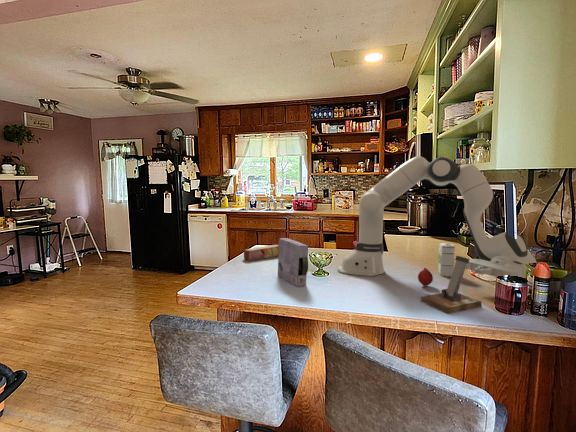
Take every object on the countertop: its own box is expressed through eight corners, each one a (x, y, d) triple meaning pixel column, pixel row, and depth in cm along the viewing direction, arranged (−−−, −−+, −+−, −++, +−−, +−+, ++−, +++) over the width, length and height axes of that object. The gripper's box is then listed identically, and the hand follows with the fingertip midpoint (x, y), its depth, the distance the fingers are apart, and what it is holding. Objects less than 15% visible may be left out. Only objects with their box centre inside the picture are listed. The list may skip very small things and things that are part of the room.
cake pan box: (308, 286, 141) (309, 244, 139) (298, 288, 138) (299, 245, 136) (286, 274, 157) (286, 237, 155) (277, 276, 155) (277, 238, 153)
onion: (420, 283, 145) (421, 265, 145) (434, 285, 142) (435, 267, 141) (415, 286, 141) (416, 267, 140) (429, 289, 137) (430, 270, 136)
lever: (448, 296, 123) (460, 257, 123) (456, 300, 120) (469, 259, 120) (443, 295, 122) (456, 255, 122) (452, 298, 119) (465, 257, 119)
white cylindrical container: (453, 276, 156) (455, 245, 154) (440, 275, 157) (441, 245, 155) (450, 273, 161) (452, 243, 160) (437, 272, 162) (439, 242, 161)
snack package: (248, 262, 181) (248, 249, 180) (242, 259, 186) (242, 247, 186) (281, 257, 193) (281, 245, 192) (275, 254, 198) (275, 243, 198)
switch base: (452, 295, 130) (453, 284, 129) (481, 306, 119) (482, 294, 118) (420, 301, 123) (421, 289, 123) (448, 313, 113) (448, 300, 112)
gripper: (478, 254, 140) (454, 257, 135) (530, 265, 121) (505, 269, 116) (477, 268, 141) (453, 272, 135) (529, 282, 122) (503, 287, 117)
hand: (477, 271), depth 125 cm, fingers closed
